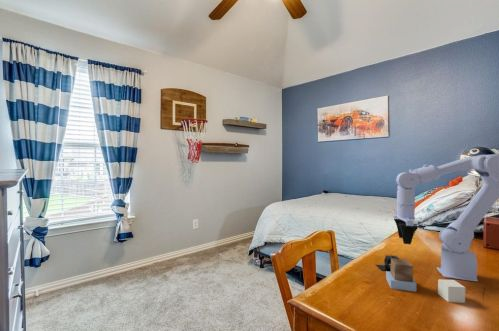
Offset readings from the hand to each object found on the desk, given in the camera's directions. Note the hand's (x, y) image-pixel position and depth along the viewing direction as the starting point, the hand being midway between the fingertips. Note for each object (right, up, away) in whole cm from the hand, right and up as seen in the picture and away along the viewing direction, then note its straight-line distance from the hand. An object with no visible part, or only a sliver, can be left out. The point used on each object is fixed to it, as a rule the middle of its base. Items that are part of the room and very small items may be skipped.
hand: (404, 240), depth 96 cm
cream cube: (+1, -11, -20) cm, 23 cm away
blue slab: (-9, -11, -13) cm, 19 cm away
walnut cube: (-9, -8, -13) cm, 18 cm away
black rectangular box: (-4, -11, 0) cm, 12 cm away
